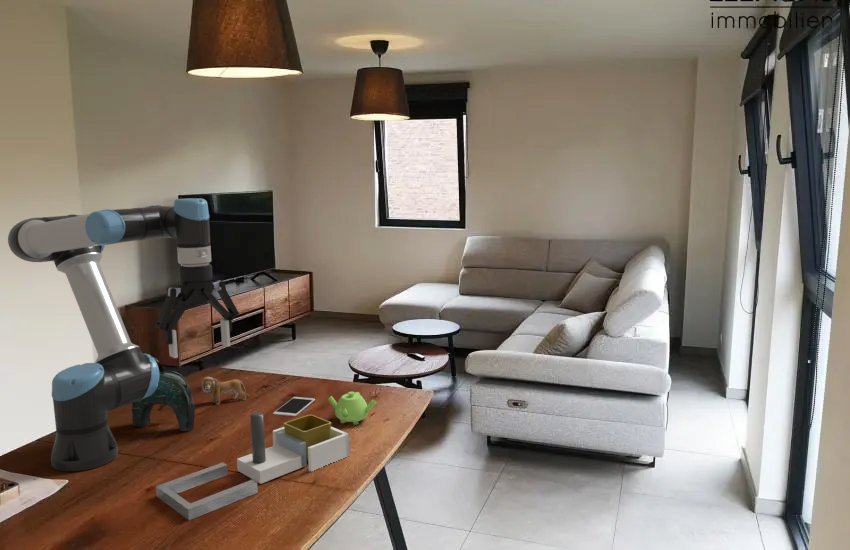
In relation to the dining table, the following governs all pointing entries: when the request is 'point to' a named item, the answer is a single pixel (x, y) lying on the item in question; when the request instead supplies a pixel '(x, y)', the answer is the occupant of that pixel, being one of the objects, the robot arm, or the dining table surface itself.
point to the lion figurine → (222, 388)
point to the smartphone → (294, 406)
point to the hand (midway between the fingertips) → (200, 351)
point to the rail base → (205, 505)
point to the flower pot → (309, 430)
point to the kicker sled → (271, 454)
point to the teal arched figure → (167, 401)
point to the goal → (325, 448)
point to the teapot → (351, 407)
